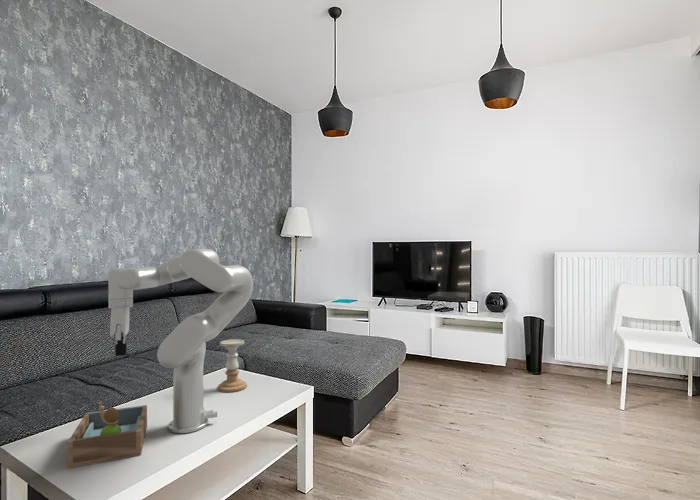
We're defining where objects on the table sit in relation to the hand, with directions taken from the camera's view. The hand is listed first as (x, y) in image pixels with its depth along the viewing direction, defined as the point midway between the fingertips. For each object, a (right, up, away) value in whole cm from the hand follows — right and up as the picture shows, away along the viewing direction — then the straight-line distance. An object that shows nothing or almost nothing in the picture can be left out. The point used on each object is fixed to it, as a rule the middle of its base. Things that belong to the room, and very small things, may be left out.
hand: (121, 354), depth 142 cm
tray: (+7, -22, -17) cm, 28 cm away
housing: (+8, -23, -19) cm, 31 cm away
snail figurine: (+8, -21, -21) cm, 31 cm away
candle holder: (+30, -23, +34) cm, 50 cm away
